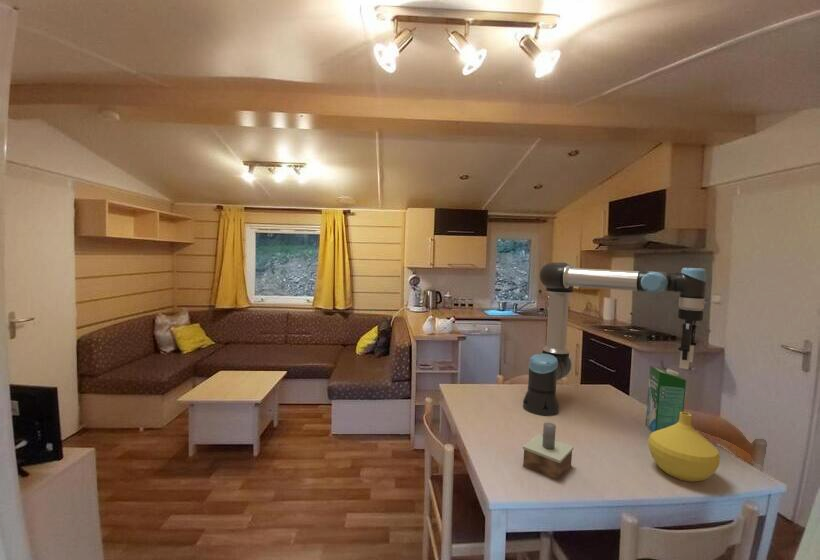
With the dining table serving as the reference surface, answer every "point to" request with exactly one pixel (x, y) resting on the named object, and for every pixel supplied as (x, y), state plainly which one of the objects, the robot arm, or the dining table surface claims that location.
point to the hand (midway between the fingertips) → (686, 365)
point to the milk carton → (664, 398)
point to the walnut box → (547, 464)
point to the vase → (683, 451)
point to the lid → (548, 445)
